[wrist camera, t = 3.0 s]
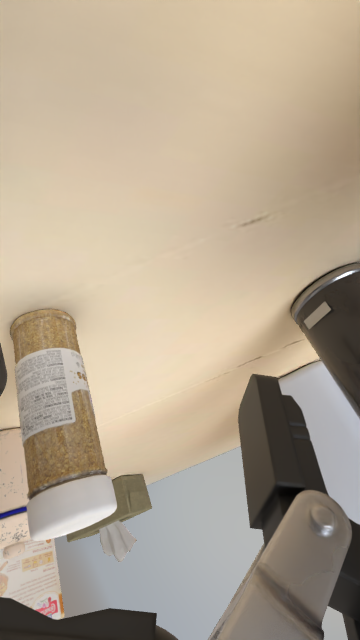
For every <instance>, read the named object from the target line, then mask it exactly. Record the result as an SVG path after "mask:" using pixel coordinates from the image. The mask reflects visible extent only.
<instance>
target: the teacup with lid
mask: <svg viewBox="0 0 360 640" xmlns="http://www.w3.org/2000/svg"><path fill="white" fill-rule="evenodd" d="M28 492H29V488H28V483H27V471H26V463H25V455H24V447H23V445H22V436H21V428H15V429H8V430H3V431H0V550H1V549H4V550H3V558H4V559H10V558H13V557H16V556H18V555H21V554H23V553H24V551H25V544H24V543H23V542H24V541H26V540H28V539H30V538H31V537H30V532H29V526H28V517H27V507H26V506H27V503H28V502H29V501H30V500H29V499H28V497H27V495H28Z"/></svg>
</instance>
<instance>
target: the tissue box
mask: <svg viewBox="0 0 360 640" xmlns="http://www.w3.org/2000/svg"><path fill="white" fill-rule="evenodd" d="M112 483H113V488H114V492H115V497H116V502H117V509H116V510H115V512H114V513H112V514H111V515H110V516H108V517H106V518H104V519H102V520H100V521H99V522H97V523H94V524H92V525H90V526H88V527H85V528H83V529H80V530H78V531H75V532H72V533H69V534H66V535H67V541H68V542H71V541H74V540H78V539H81V538H85V537H89V536H92V535H95V534H97V533H99V532H100V542H101V544H102V547H103V550H104V553H105V554H107V555H108V556H111V555H112V554H114V556H115V558H116V559H117V560H118V562H121V561H123V559H124V557H125V555H126V553H127V552H128V551H130V550H131V548H132V546H133V544H134V543H135V542H136V539H135V538H134V537H133V536H132V535H131V533H130V532H129V531H128V530H127V529H126V527H125V526H124V525H123V524H122V523H121V522H123V521H126V520H128V519H130V518H132V517H134V516H136V515H138V514H141V513H143V512H145V511H147V510H149V509H151V508H152V506H151V502H150V498H149V495H148V491H147V488H146V484H145V480H144V477H143V475H127V476H120V477H118V478H116V479H114V480H112Z"/></svg>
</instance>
